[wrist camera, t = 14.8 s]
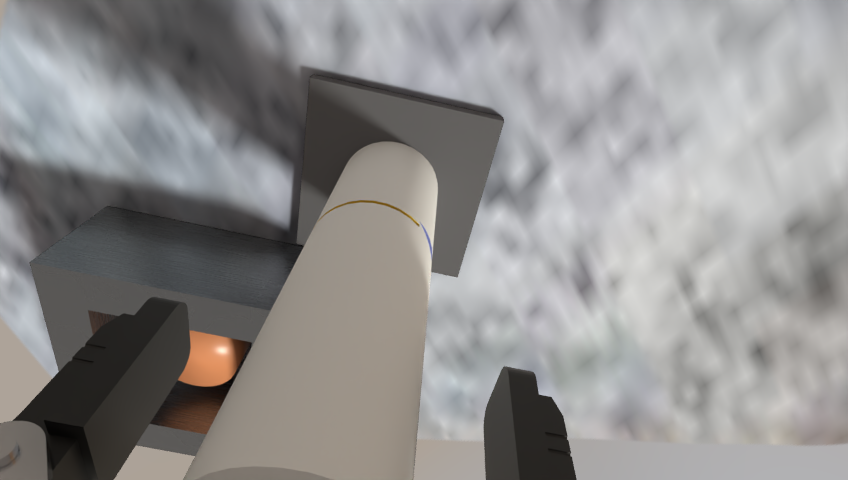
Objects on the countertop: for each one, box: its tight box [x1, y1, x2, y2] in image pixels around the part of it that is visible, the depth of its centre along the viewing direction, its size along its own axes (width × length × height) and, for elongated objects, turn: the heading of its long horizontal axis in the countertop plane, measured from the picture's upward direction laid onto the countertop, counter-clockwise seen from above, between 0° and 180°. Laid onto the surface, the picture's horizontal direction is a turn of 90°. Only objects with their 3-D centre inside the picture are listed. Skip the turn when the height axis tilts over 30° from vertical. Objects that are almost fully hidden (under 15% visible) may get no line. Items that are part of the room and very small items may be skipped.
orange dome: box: [178, 330, 251, 387], centre depth 25 cm, size 4×4×2 cm
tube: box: [183, 141, 438, 480], centre depth 15 cm, size 4×4×15 cm
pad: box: [296, 74, 504, 277], centre depth 22 cm, size 8×8×1 cm
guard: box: [30, 206, 303, 456], centre depth 25 cm, size 11×11×5 cm
